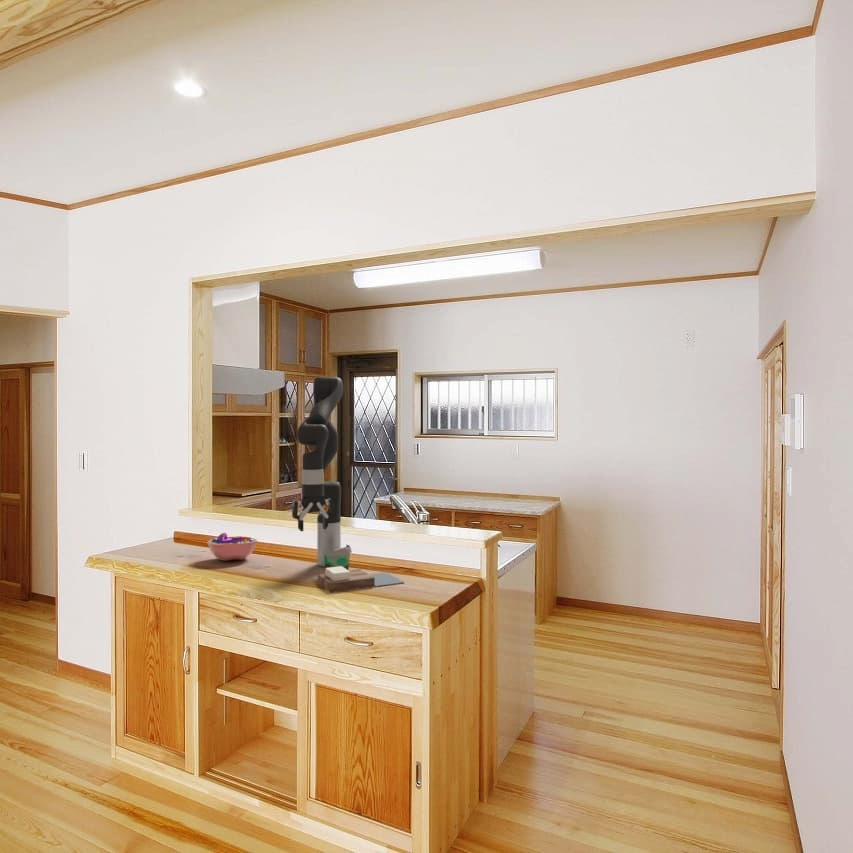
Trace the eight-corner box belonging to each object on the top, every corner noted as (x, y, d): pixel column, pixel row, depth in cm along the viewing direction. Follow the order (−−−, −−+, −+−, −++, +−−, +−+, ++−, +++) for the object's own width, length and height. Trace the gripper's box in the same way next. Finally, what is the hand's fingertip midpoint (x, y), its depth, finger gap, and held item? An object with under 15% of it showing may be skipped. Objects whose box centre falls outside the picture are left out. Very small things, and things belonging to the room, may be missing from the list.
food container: (333, 579, 228) (333, 551, 228) (322, 576, 232) (322, 549, 232) (358, 572, 238) (358, 546, 238) (347, 570, 242) (347, 544, 242)
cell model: (250, 565, 250) (250, 536, 250) (200, 564, 251) (200, 536, 250) (262, 555, 267) (262, 529, 267) (215, 555, 268) (215, 529, 267)
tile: (325, 574, 223) (325, 567, 222) (341, 573, 225) (341, 566, 225) (333, 580, 214) (333, 573, 214) (350, 578, 217) (350, 571, 217)
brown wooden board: (318, 582, 224) (317, 574, 224) (360, 577, 231) (360, 569, 231) (330, 592, 211) (330, 583, 211) (374, 586, 219) (374, 577, 219)
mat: (359, 576, 232) (359, 575, 232) (386, 573, 237) (386, 572, 237) (375, 587, 218) (375, 585, 218) (404, 583, 223) (404, 582, 223)
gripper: (329, 480, 222) (329, 526, 222) (289, 482, 215) (289, 530, 216) (336, 482, 215) (336, 530, 215) (295, 484, 209) (295, 533, 209)
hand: (313, 529), depth 215 cm, fingers open, 7 cm apart
